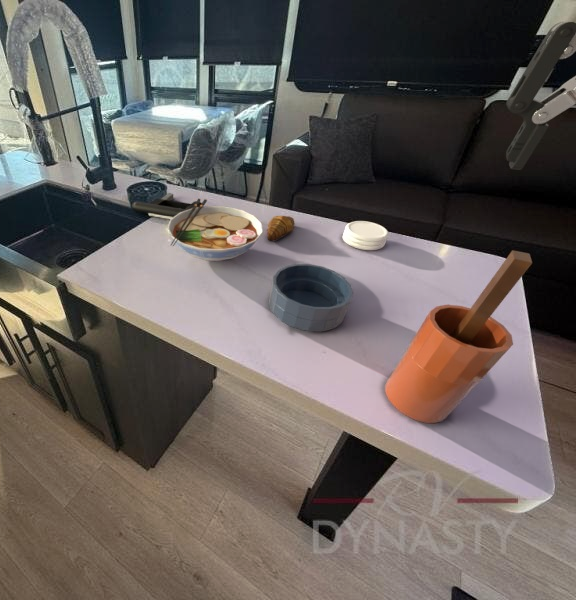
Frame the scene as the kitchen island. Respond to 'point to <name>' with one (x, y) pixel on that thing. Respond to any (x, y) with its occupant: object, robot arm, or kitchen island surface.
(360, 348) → the kitchen island surface
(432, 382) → the crock
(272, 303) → the bowl
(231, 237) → the ramen bowl
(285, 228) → the croissant
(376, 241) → the coaster
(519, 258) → the brown wooden masher
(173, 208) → the door handle
